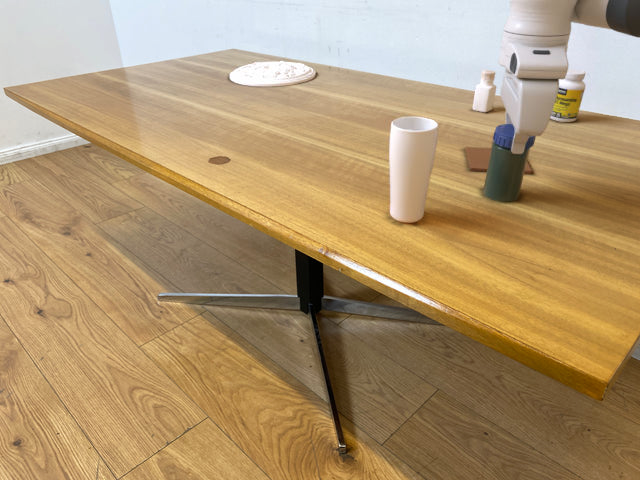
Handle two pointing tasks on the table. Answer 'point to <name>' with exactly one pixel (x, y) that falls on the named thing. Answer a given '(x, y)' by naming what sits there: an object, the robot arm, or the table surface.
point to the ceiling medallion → (272, 74)
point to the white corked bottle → (485, 92)
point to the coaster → (483, 159)
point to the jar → (504, 173)
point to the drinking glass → (411, 166)
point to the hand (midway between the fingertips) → (512, 143)
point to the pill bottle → (569, 97)
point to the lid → (509, 136)
